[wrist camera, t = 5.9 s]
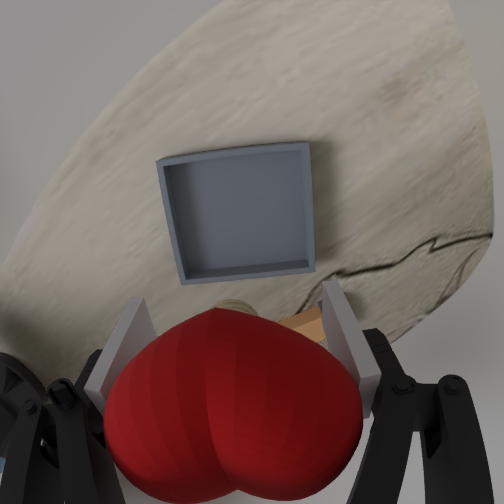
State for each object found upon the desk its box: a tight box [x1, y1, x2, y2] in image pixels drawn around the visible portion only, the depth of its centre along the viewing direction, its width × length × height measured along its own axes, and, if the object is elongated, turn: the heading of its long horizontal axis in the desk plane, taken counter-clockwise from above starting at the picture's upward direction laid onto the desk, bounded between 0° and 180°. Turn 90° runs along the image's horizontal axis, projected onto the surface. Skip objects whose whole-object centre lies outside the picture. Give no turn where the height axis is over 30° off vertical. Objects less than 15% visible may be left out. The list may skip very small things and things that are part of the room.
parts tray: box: [156, 141, 315, 285], centre depth 30 cm, size 14×13×2 cm
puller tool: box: [277, 301, 326, 343], centre depth 37 cm, size 14×4×2 cm, turn 116°
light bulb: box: [103, 300, 363, 504], centre depth 11 cm, size 9×7×10 cm
